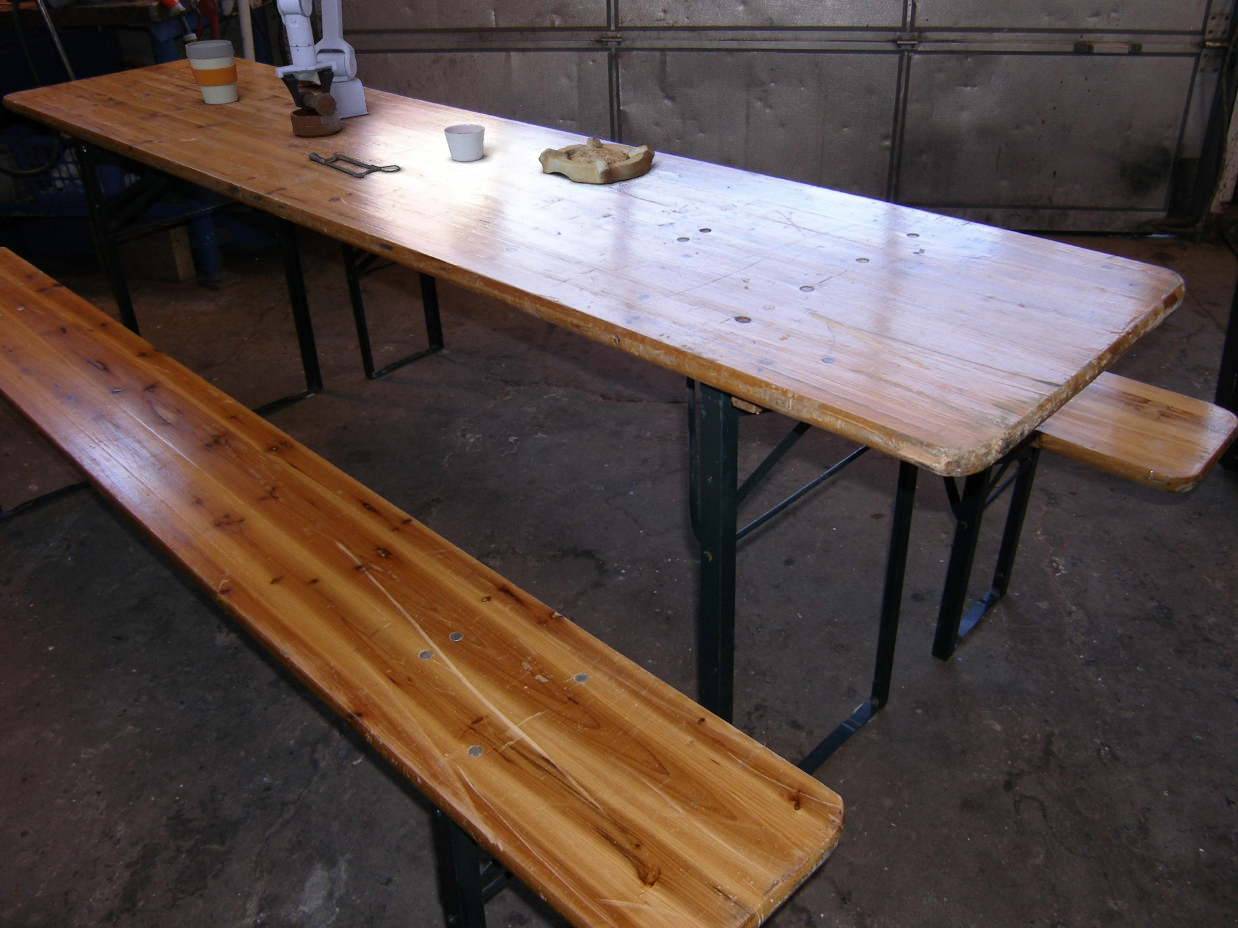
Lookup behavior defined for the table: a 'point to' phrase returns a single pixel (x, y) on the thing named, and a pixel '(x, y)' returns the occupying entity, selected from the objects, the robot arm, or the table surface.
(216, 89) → the reusable coffee cup
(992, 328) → the table surface
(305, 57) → the robot arm
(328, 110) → the bolt
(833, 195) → the table surface
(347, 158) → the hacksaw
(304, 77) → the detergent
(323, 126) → the bowl
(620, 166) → the ashtray
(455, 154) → the white tapered cup
